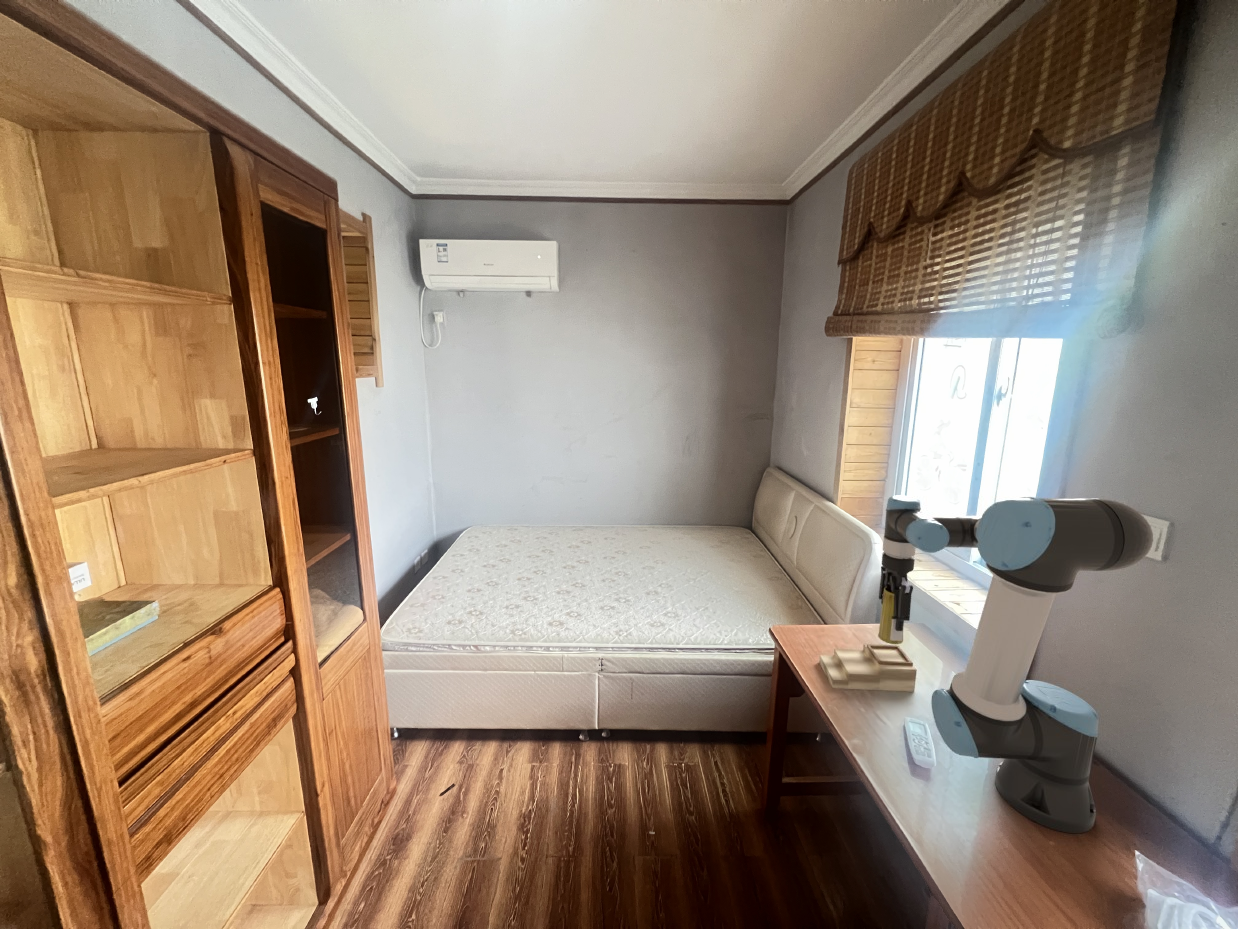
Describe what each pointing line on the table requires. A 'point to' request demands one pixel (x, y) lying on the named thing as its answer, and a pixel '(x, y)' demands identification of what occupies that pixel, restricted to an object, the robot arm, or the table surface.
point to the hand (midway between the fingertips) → (890, 633)
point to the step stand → (870, 668)
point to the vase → (887, 617)
